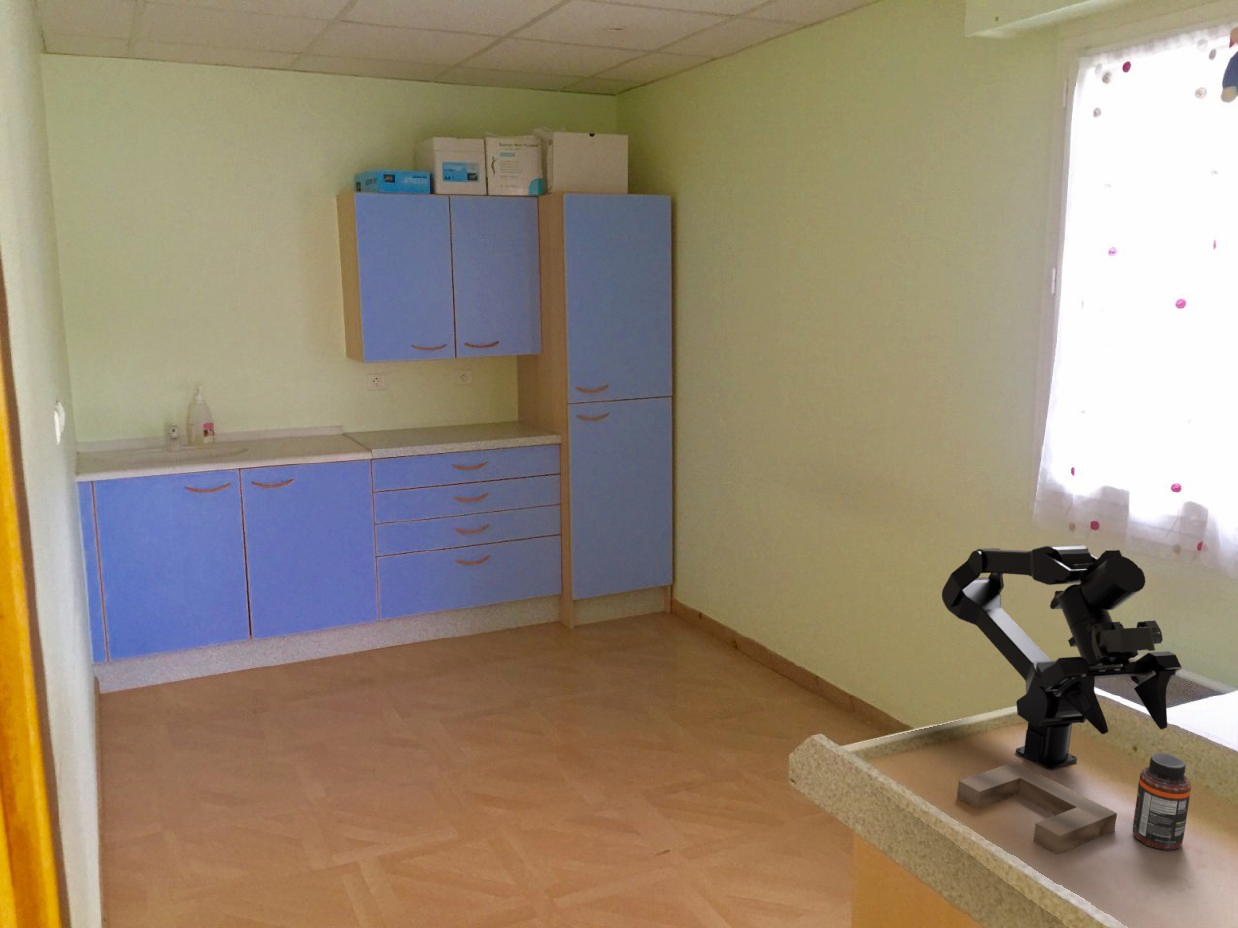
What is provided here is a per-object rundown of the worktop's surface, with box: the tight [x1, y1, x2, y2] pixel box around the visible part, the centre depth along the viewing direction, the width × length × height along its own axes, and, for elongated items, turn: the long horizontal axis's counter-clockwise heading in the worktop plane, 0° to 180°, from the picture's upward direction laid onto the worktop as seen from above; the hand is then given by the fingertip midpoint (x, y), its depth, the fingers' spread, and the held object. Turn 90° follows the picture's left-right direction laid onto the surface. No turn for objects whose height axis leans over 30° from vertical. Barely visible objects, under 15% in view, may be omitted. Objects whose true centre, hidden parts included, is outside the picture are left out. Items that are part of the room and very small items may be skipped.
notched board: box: [956, 761, 1118, 855], centre depth 141 cm, size 12×16×2 cm
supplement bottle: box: [1132, 752, 1192, 851], centre depth 135 cm, size 6×6×11 cm
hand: (1135, 730), depth 139 cm, fingers open, 9 cm apart
